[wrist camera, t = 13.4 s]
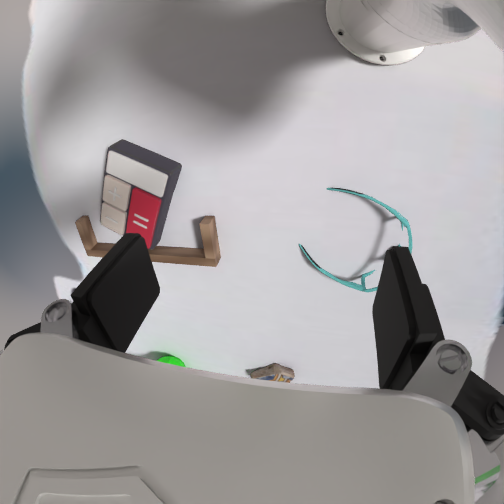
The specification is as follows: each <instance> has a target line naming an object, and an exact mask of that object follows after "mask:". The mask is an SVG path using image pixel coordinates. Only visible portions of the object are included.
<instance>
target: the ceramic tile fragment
mask: <svg viewBox="0 0 504 504" xmlns="http://www.w3.org/2000/svg"><path fill="white" fill-rule="evenodd" d="M294 377H295V376H294V371H293V370H292V369H289V368H286V367H284V366H281V365H279V364H276V363H275V364H272V365H269V366H267V367H264V368H261V369H258V370H256V371H253V372H252V373H251V378H253V379H260V380H268V381H277V382H287V383H290V381H292V380H293V379H294Z"/></svg>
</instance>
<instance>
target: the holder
mask: <svg viewBox="0 0 504 504" xmlns="http://www.w3.org/2000/svg"><path fill="white" fill-rule="evenodd" d="M75 224H76V227H77V229H78V232H79V235H80V237H81V240H82V243H83V245H84V248H85V250H86V253H87V255H88V256H95V257H104V256H105V255H106V254H107V253H108V252H109V251H110V249H111V248H112V247H113V246H114V245H115V244H112V243H97V240H96V237H95V234H94V232H93V229H92V226H91V223H90V220H89V217H88V216H82V217H81V218H80V219H78V220H77V221H76V222H75ZM199 225H200V230H201V236H202V241H203V247H204V249H199V248H182V247H164V246H155V248H154V249H153V250H151V249H148V248H147V249H148V252H149V255H150V259H151V262H162V263H174V264H187V265H199V266H212V267H216V266H217V264H218V262H219V260H220V258H221V256H220V249H219V243H218V236H217V229H216V223H215V216H205V217H204V218H203V220H202V221H201V222H200V224H199Z"/></svg>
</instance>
